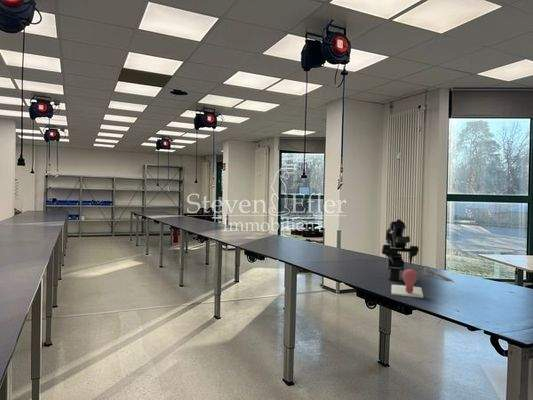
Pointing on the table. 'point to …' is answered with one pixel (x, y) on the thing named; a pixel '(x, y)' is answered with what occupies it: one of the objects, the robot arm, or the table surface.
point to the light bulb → (409, 279)
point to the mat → (402, 291)
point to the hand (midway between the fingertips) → (402, 262)
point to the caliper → (435, 274)
